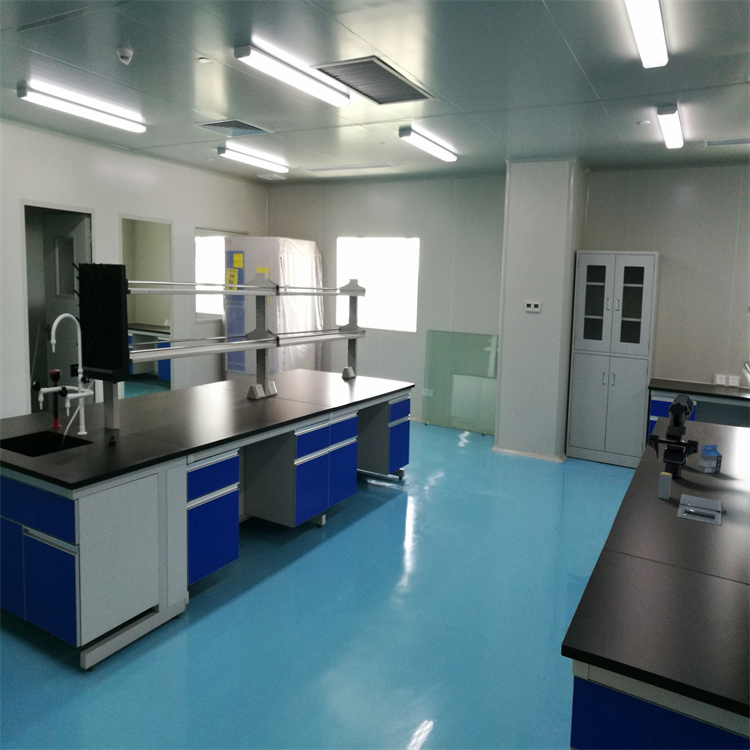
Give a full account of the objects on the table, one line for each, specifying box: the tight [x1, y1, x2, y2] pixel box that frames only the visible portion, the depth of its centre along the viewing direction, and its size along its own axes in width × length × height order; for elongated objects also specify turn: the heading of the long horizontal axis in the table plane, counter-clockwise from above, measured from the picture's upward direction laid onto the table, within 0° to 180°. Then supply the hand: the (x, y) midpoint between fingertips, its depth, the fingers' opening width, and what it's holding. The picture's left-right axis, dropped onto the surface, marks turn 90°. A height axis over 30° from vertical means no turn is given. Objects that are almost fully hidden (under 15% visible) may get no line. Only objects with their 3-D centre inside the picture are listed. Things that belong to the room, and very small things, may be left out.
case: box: [676, 493, 728, 526], centre depth 230 cm, size 29×16×2 cm, turn 151°
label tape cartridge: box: [697, 444, 723, 474], centre depth 281 cm, size 9×4×12 cm, turn 105°
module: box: [656, 471, 672, 500], centre depth 242 cm, size 4×4×10 cm
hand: (669, 460), depth 248 cm, fingers open, 9 cm apart
